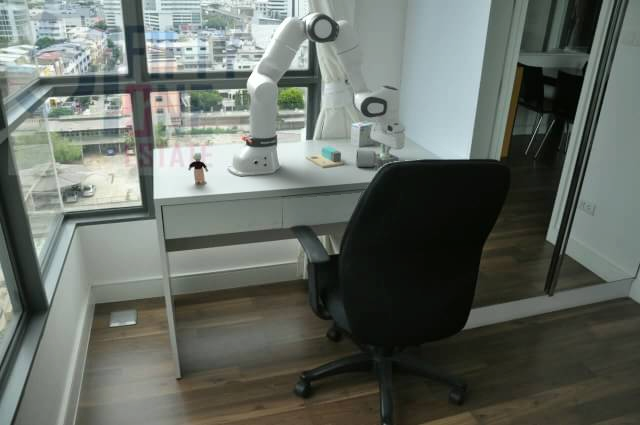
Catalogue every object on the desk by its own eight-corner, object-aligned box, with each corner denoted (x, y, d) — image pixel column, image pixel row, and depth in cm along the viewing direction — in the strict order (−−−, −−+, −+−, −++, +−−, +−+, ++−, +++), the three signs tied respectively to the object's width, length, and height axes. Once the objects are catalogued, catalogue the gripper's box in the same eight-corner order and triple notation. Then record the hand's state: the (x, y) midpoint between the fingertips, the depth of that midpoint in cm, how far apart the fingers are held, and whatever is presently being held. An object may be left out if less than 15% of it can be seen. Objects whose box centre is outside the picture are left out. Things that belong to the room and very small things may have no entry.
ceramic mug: (375, 169, 220) (377, 152, 217) (357, 168, 220) (358, 151, 217) (372, 162, 230) (373, 145, 227) (354, 161, 230) (355, 145, 227)
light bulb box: (365, 140, 261) (366, 120, 257) (374, 144, 257) (375, 123, 252) (349, 144, 255) (351, 123, 251) (358, 147, 250) (360, 126, 246)
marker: (321, 155, 232) (322, 147, 231) (329, 154, 234) (329, 146, 233) (333, 162, 225) (333, 153, 223) (340, 160, 226) (341, 152, 225)
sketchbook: (322, 168, 220) (322, 165, 219) (305, 158, 231) (305, 156, 231) (343, 164, 225) (343, 162, 224) (326, 155, 237) (326, 153, 236)
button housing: (382, 166, 224) (383, 160, 223) (370, 160, 231) (371, 154, 230) (398, 163, 228) (398, 157, 227) (386, 158, 235) (386, 152, 234)
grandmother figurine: (209, 181, 201) (207, 150, 196) (208, 184, 197) (207, 153, 192) (189, 181, 200) (187, 151, 194) (188, 185, 196) (186, 154, 191)
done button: (383, 163, 226) (384, 156, 225) (377, 160, 230) (377, 153, 229) (391, 162, 229) (392, 154, 227) (385, 159, 232) (386, 151, 231)
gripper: (368, 119, 229) (366, 148, 234) (396, 129, 213) (393, 161, 219) (379, 117, 232) (377, 146, 237) (408, 128, 216) (405, 159, 222)
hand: (385, 153), depth 228 cm, fingers closed, pressing on done button
